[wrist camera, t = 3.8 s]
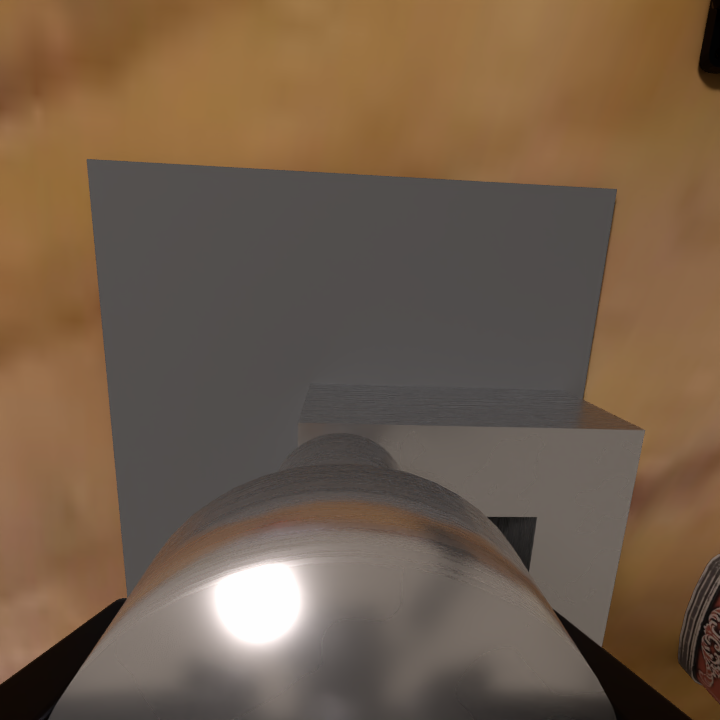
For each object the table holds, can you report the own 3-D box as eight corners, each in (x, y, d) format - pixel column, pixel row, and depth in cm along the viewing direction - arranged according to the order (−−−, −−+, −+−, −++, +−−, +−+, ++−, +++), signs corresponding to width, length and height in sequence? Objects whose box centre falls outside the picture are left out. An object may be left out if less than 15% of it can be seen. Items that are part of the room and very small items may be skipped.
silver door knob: (468, 388, 10) (687, 572, 4) (441, 597, 11) (569, 1001, 5) (220, 374, 10) (-11, 553, 3) (221, 592, 11) (54, 1024, 5)
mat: (610, 191, 17) (616, 189, 17) (542, 614, 21) (546, 620, 21) (93, 162, 16) (86, 159, 15) (134, 616, 20) (130, 623, 20)
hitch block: (563, 390, 18) (644, 430, 13) (531, 605, 21) (589, 706, 16) (310, 383, 18) (297, 422, 13) (306, 606, 20) (295, 711, 15)
